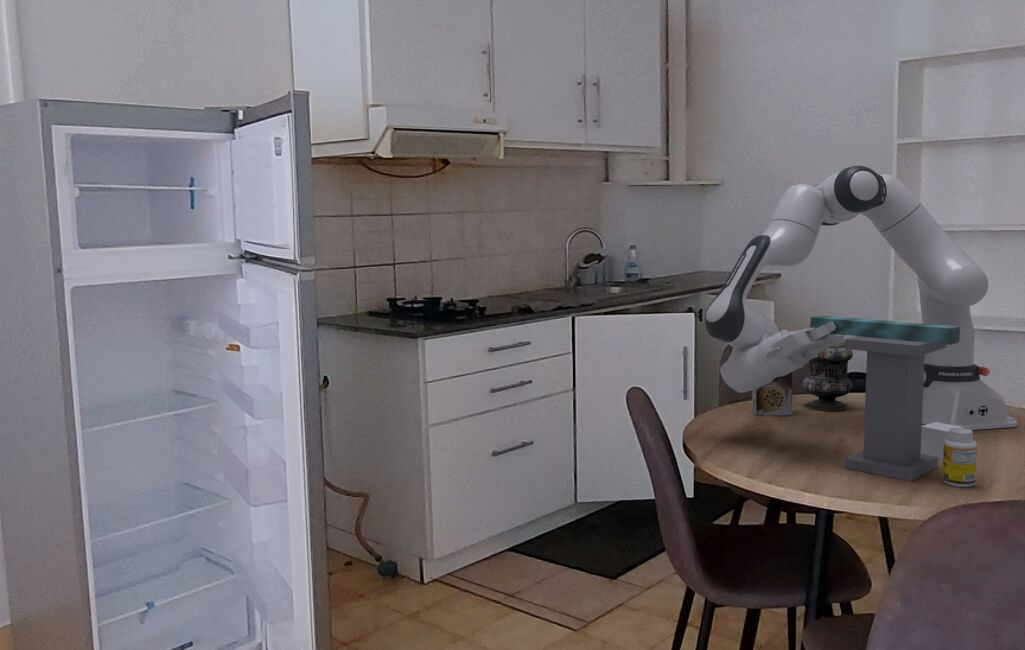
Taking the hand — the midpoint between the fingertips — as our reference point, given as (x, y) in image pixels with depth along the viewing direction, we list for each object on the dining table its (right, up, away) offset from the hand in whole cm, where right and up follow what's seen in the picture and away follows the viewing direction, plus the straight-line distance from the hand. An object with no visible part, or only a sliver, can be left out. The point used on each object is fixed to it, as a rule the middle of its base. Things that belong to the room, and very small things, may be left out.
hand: (841, 323), depth 187 cm
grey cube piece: (+22, -28, +5) cm, 36 cm away
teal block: (+6, -3, -5) cm, 8 cm away
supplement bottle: (+16, -30, -15) cm, 37 cm away
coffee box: (-2, -23, +44) cm, 50 cm away
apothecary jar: (+14, -22, +50) cm, 57 cm away
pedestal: (+8, -29, -4) cm, 30 cm away
